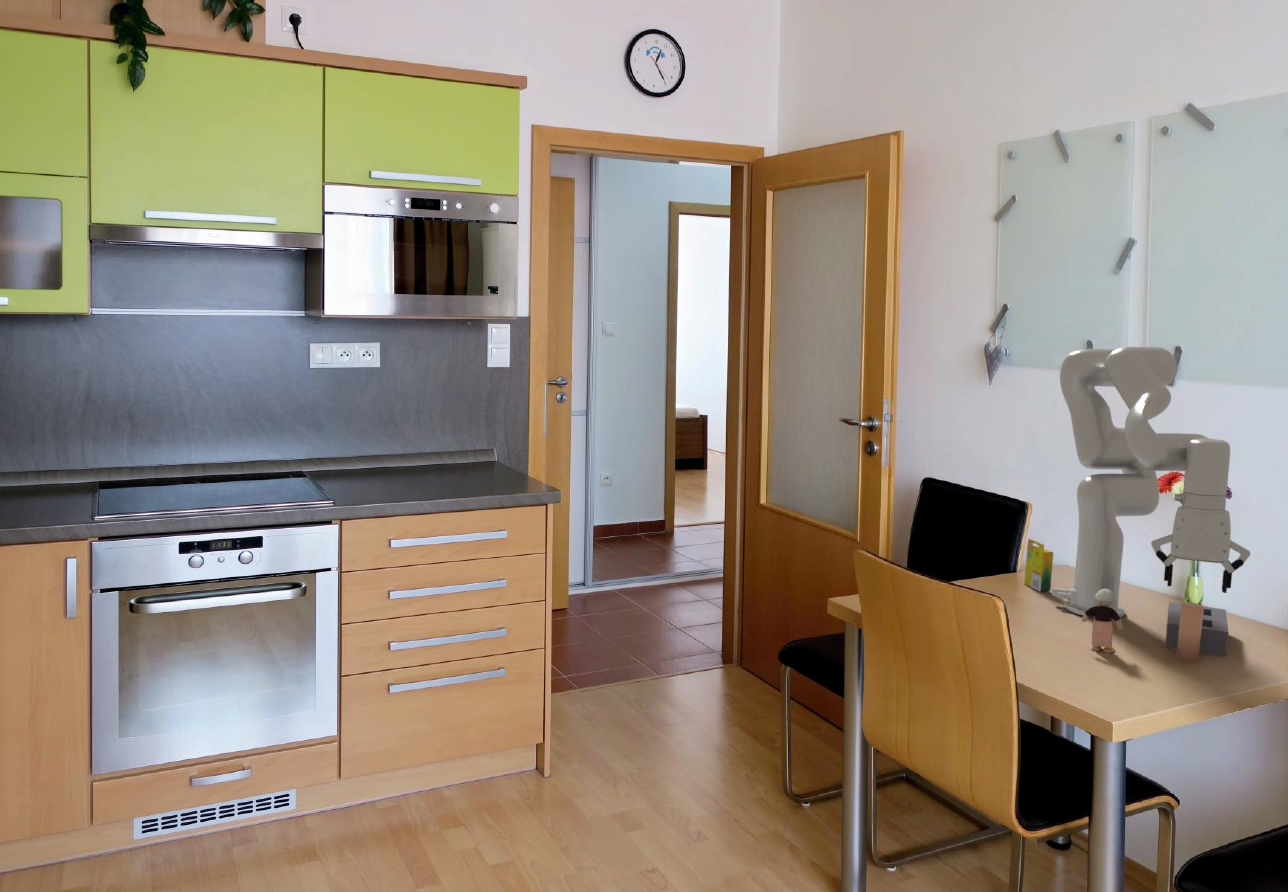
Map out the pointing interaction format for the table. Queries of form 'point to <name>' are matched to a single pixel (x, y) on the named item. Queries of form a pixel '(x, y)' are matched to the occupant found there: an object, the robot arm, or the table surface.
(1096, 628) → the grandmother figurine
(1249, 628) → the table surface
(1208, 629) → the socket block
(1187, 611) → the terracotta peg
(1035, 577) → the crayon box
